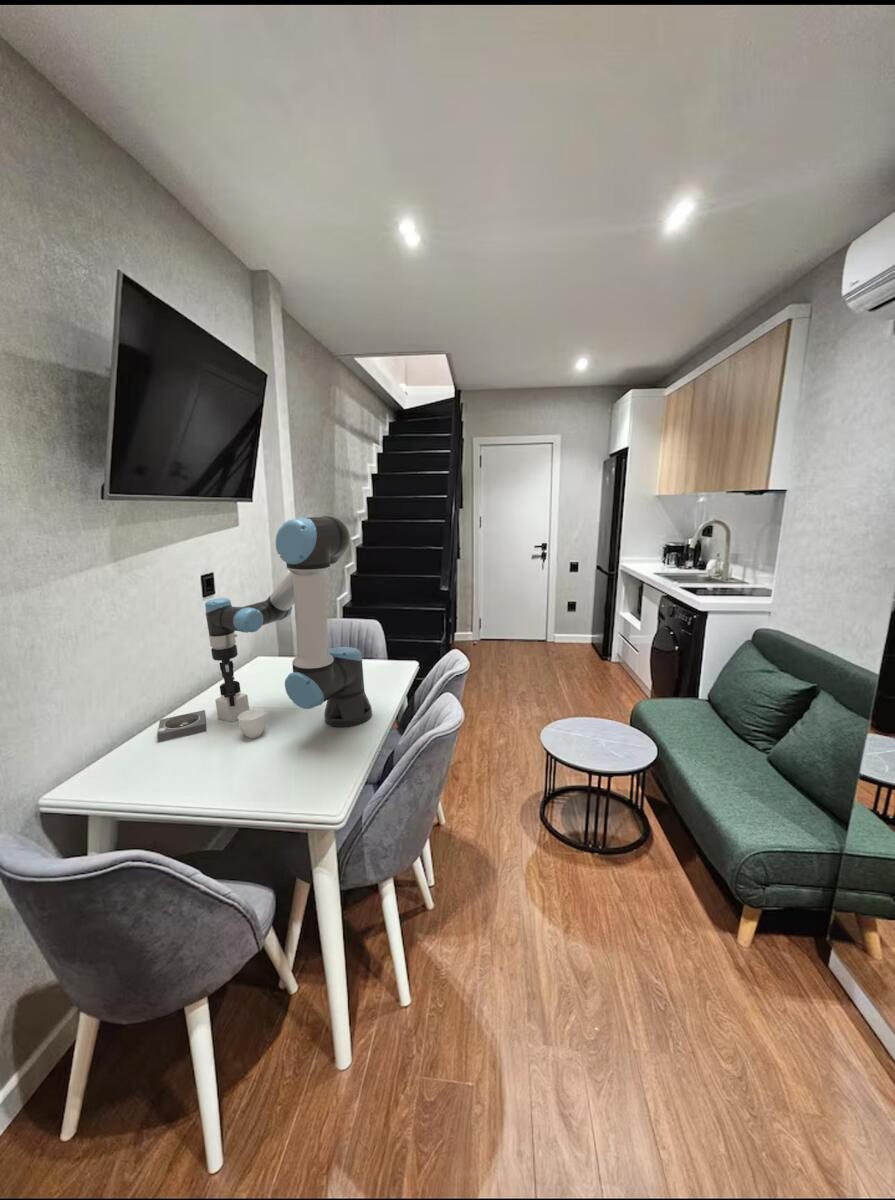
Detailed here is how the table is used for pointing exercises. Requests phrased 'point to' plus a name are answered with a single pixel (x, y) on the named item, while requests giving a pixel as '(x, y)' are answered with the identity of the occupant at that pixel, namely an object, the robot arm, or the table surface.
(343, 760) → the table surface
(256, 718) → the cup
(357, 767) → the table surface
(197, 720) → the grey square dish
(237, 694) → the medicine bottle
